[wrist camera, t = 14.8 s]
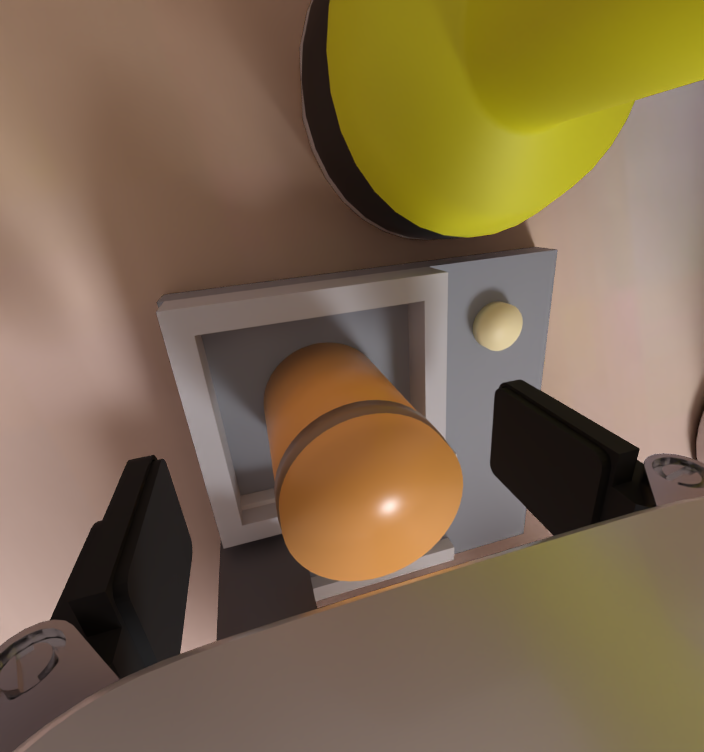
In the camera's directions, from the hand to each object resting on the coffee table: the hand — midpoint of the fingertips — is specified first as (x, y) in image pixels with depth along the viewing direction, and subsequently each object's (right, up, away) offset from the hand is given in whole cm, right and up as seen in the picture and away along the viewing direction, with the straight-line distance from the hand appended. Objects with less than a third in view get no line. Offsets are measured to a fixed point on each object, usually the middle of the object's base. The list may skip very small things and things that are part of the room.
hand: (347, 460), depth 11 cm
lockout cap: (-1, +1, +3) cm, 4 cm away
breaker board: (+1, 0, +6) cm, 6 cm away
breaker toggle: (-3, -5, +5) cm, 8 cm away
